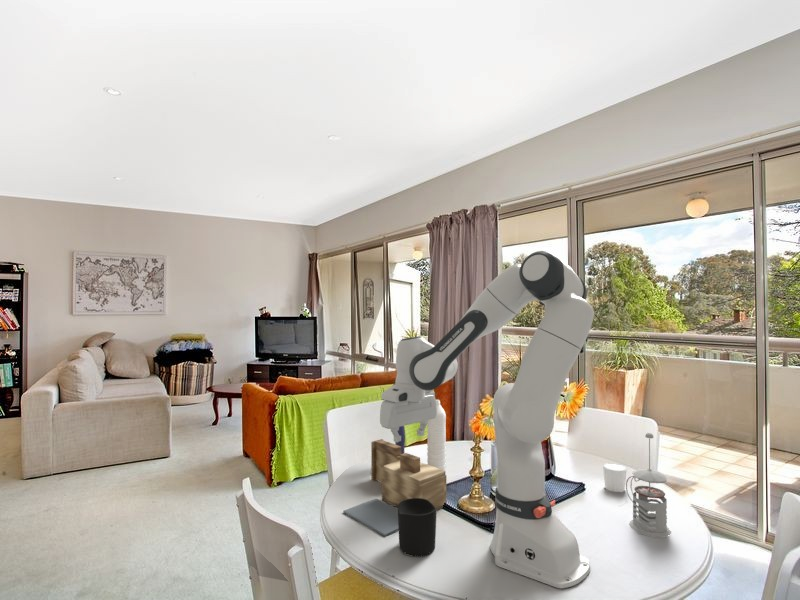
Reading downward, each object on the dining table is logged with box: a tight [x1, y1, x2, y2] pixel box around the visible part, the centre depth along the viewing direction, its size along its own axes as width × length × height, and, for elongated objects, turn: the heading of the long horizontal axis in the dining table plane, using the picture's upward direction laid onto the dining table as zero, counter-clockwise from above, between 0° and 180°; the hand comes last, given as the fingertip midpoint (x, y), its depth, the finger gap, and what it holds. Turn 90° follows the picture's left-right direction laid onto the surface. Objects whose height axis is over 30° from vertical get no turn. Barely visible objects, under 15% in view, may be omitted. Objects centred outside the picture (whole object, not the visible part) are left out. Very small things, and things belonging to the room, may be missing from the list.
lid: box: [383, 452, 446, 485], centre depth 135 cm, size 16×11×5 cm
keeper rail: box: [370, 438, 400, 483], centre depth 149 cm, size 12×4×13 cm, turn 43°
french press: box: [625, 432, 672, 539], centre depth 121 cm, size 10×12×25 cm
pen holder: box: [397, 498, 438, 558], centre depth 111 cm, size 9×9×10 cm
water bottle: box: [426, 399, 447, 472], centre depth 161 cm, size 9×6×25 cm
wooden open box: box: [381, 470, 447, 511], centre depth 135 cm, size 16×11×9 cm
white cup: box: [602, 462, 627, 493], centre depth 146 cm, size 7×7×7 cm
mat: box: [342, 498, 399, 538], centre depth 126 cm, size 18×12×1 cm, turn 43°
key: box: [375, 439, 401, 456], centre depth 150 cm, size 10×2×2 cm, turn 43°
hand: (409, 438), depth 134 cm, fingers open, 8 cm apart
